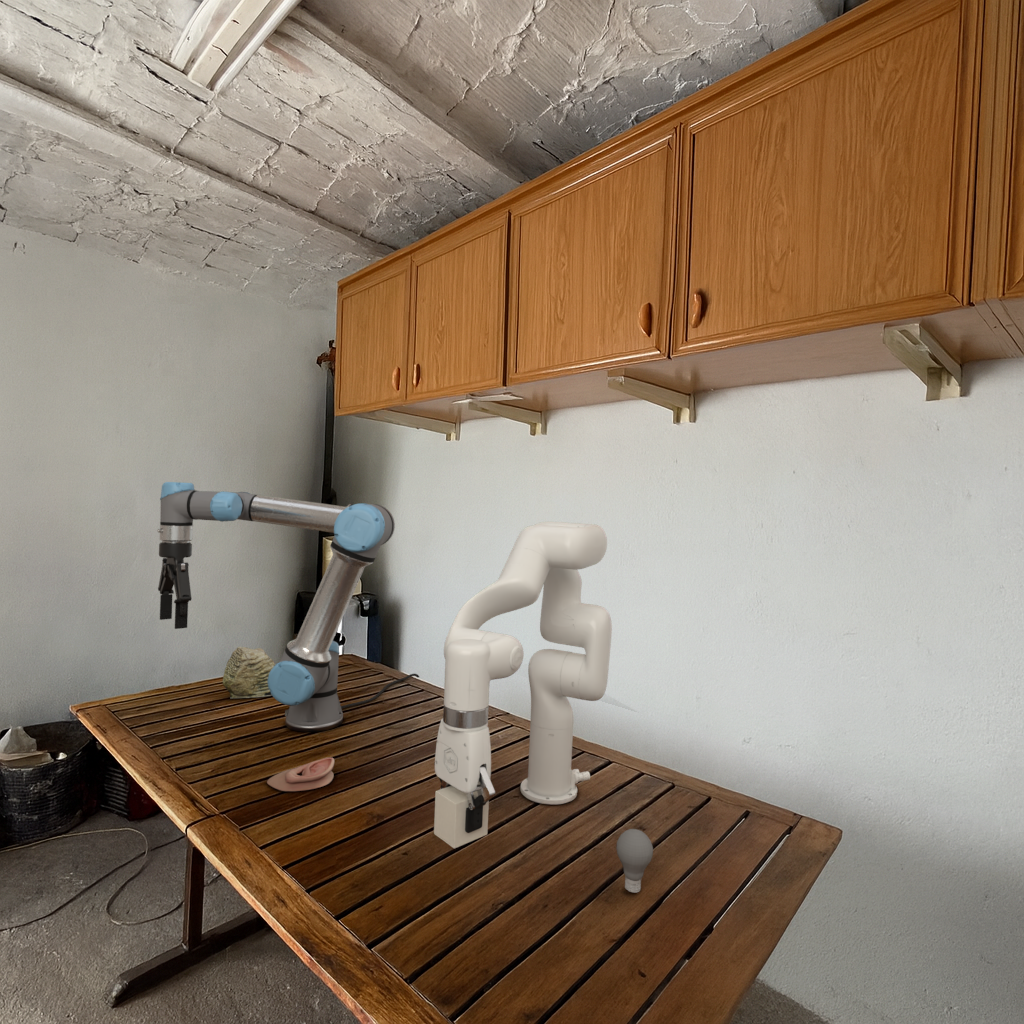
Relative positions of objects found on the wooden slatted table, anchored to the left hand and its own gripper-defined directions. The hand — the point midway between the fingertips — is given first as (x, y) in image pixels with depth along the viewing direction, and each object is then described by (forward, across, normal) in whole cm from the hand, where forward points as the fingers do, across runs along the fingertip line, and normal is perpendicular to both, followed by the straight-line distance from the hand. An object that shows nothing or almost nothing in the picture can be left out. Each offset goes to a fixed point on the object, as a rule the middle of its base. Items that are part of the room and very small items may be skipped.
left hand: (173, 623), depth 164 cm
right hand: (+18, +97, +19) cm, 101 cm away
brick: (+20, +97, +19) cm, 101 cm away
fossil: (+29, -19, +29) cm, 45 cm away
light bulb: (+29, +118, +40) cm, 127 cm away
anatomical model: (+29, +46, +14) cm, 56 cm away
